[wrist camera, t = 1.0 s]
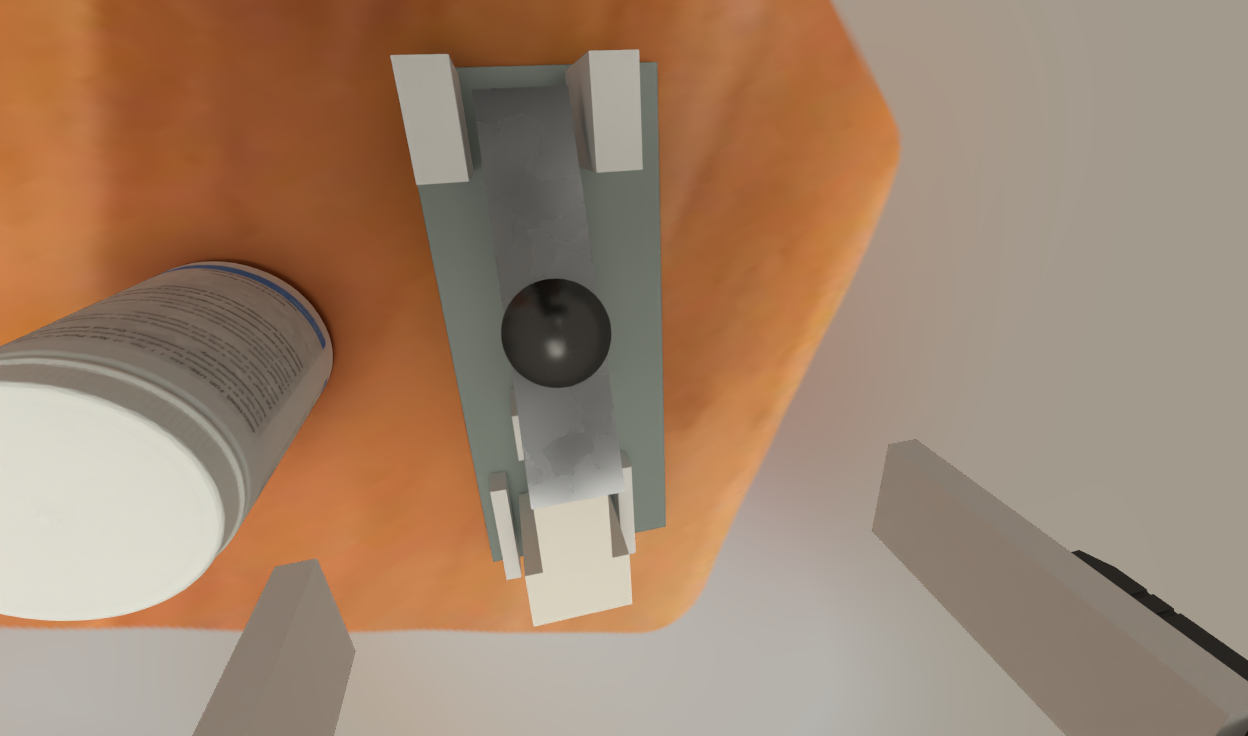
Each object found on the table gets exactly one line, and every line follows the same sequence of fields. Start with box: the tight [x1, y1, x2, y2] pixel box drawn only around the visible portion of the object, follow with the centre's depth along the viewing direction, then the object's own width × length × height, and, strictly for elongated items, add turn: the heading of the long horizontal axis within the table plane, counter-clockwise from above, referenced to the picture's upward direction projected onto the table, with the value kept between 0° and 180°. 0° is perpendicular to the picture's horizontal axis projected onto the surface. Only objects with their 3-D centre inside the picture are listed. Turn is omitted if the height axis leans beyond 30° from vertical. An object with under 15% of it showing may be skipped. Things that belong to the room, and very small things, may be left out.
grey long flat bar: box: [472, 86, 625, 509], centre depth 22 cm, size 18×4×2 cm, turn 2°
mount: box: [390, 50, 666, 580], centre depth 30 cm, size 31×13×8 cm, turn 3°
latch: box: [518, 492, 632, 627], centre depth 33 cm, size 9×6×8 cm, turn 3°
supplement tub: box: [0, 261, 333, 621], centre depth 23 cm, size 10×10×15 cm
